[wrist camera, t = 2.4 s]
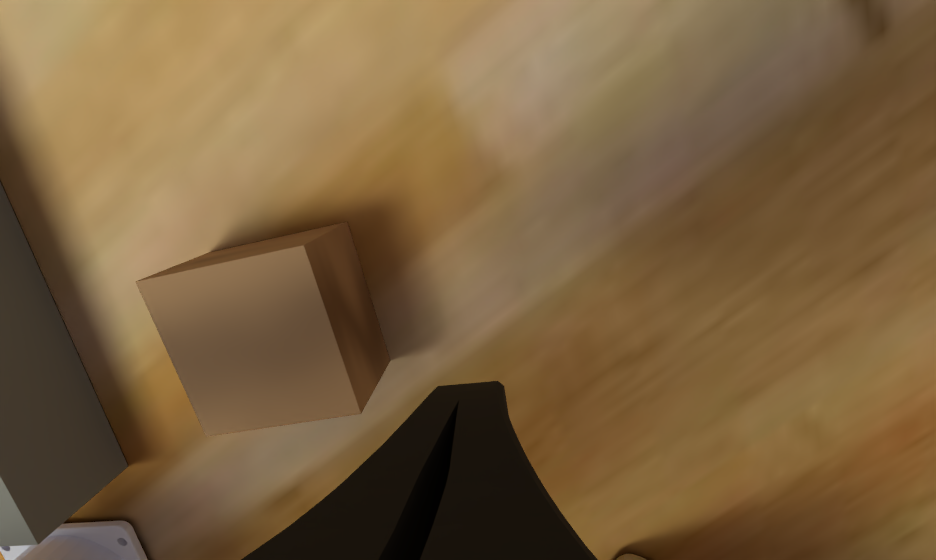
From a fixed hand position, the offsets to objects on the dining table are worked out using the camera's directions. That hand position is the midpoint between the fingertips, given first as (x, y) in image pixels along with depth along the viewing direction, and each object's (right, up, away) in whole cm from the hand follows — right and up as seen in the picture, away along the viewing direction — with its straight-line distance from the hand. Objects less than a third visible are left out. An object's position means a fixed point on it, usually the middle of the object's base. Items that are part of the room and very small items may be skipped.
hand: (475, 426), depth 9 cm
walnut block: (-7, +2, +10) cm, 12 cm away
